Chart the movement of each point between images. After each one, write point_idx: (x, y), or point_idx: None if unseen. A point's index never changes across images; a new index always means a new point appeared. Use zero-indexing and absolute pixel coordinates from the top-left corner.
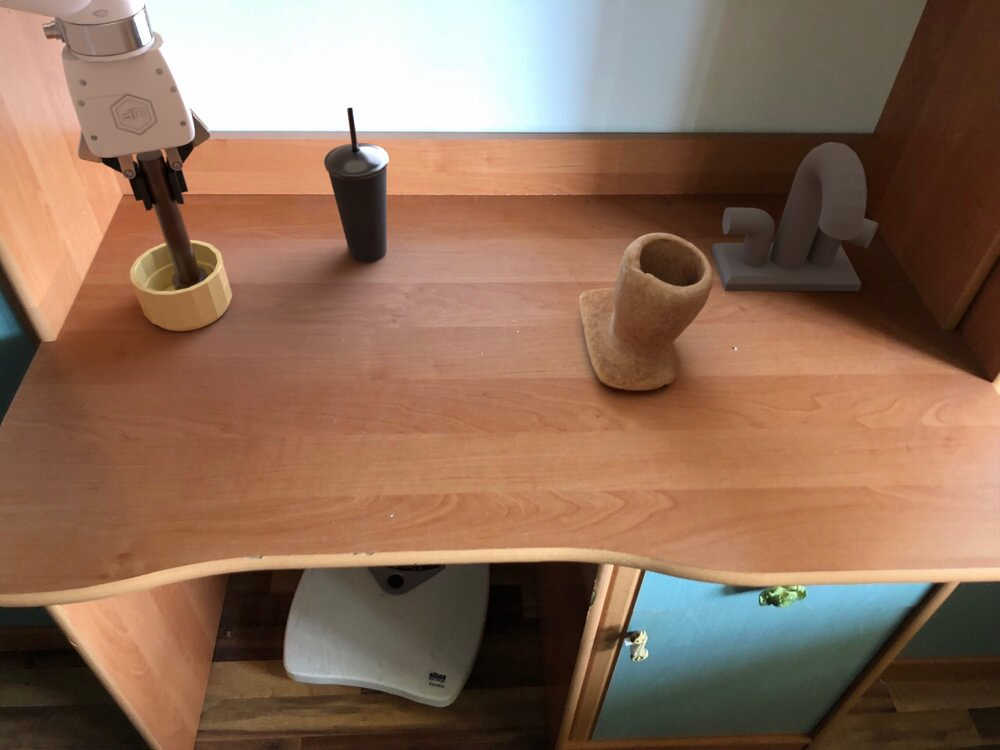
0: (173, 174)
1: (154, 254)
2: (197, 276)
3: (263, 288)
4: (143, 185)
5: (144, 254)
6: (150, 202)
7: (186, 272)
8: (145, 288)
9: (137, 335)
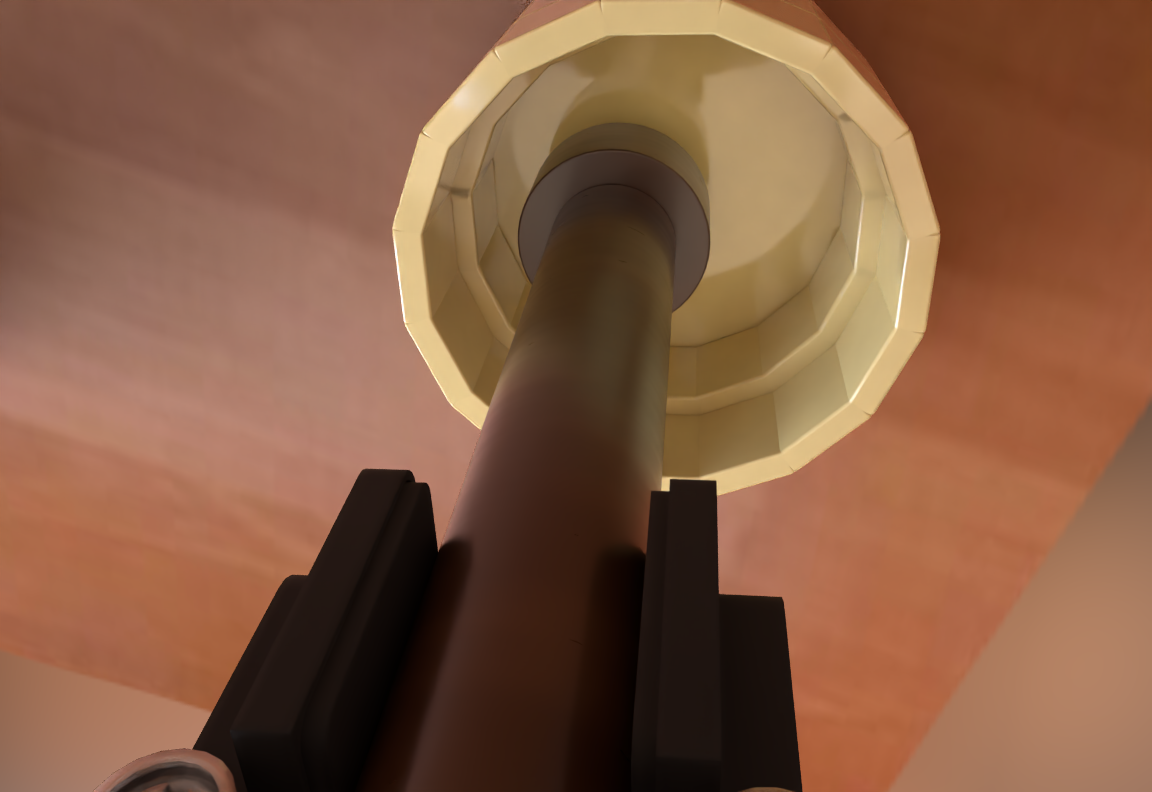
0: (260, 712)
1: (764, 442)
2: (564, 208)
3: (313, 186)
4: (652, 679)
5: (816, 442)
6: (651, 527)
7: (609, 211)
8: (872, 123)
9: (958, 33)
